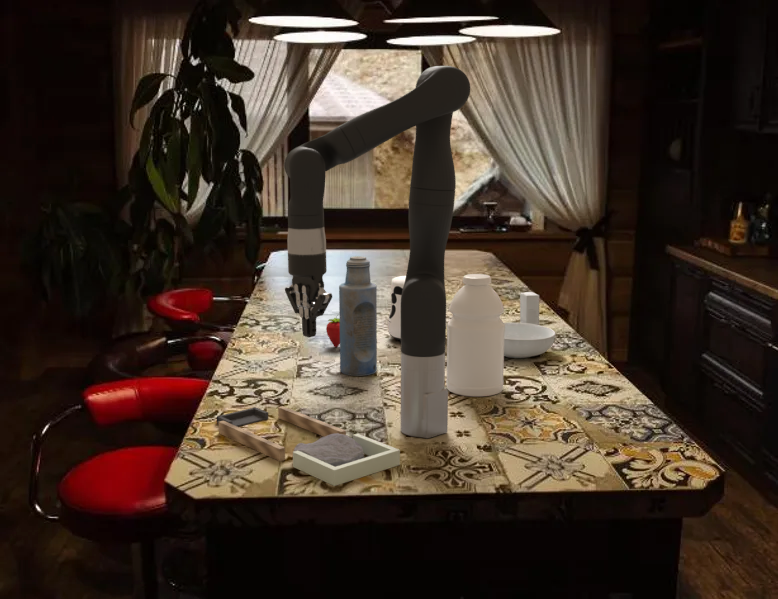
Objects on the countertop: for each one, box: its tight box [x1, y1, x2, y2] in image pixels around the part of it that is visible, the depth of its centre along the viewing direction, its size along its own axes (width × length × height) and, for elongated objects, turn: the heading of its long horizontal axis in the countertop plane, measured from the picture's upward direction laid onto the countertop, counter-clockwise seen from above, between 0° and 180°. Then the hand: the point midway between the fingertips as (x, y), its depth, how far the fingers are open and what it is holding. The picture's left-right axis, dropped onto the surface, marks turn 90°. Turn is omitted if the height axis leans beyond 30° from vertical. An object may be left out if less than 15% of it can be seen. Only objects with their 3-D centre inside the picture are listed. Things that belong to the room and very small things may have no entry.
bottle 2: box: [445, 273, 506, 397], centre depth 232 cm, size 14×14×28 cm
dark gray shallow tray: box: [216, 407, 269, 427], centre depth 210 cm, size 5×10×2 cm, turn 132°
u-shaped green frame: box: [292, 433, 401, 487], centre depth 184 cm, size 13×16×3 cm
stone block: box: [293, 433, 365, 467], centre depth 186 cm, size 12×5×10 cm
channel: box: [218, 405, 347, 462], centre depth 199 cm, size 22×16×2 cm
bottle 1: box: [338, 255, 378, 377], centre depth 247 cm, size 10×10×30 cm
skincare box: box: [519, 291, 540, 325], centre depth 293 cm, size 6×4×12 cm
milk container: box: [387, 275, 406, 342], centre depth 284 cm, size 17×17×18 cm
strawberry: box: [325, 314, 340, 348], centre depth 275 cm, size 6×8×10 cm
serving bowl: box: [504, 322, 556, 359], centre depth 268 cm, size 21×21×7 cm
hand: (309, 336), depth 193 cm, fingers closed
